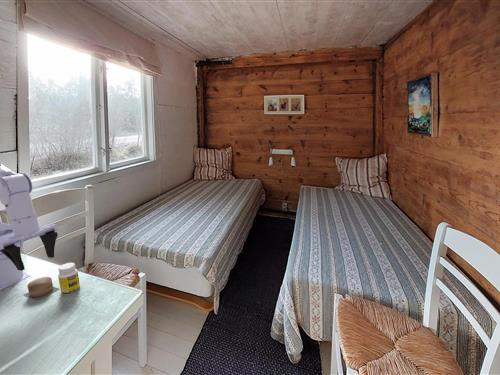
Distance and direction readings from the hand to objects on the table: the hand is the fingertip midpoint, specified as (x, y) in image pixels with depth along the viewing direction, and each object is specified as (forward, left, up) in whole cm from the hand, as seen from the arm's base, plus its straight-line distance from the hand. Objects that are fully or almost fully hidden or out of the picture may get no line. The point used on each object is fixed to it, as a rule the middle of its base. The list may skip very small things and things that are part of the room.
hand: (36, 263), depth 75 cm
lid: (-1, 0, -9) cm, 9 cm away
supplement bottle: (+6, +4, -10) cm, 13 cm away
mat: (-1, 0, -10) cm, 10 cm away
